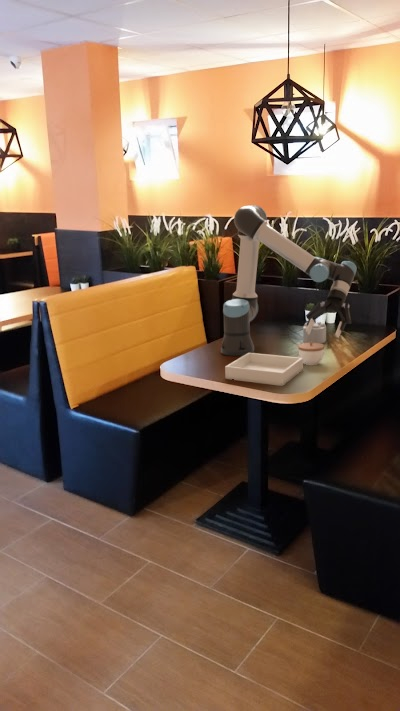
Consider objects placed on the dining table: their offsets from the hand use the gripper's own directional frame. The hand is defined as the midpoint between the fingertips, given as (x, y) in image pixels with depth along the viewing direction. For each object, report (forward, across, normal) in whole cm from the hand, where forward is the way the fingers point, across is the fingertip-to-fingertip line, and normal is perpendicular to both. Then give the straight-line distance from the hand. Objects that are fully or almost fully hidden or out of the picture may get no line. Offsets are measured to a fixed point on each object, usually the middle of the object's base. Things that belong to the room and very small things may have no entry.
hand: (321, 334), depth 250 cm
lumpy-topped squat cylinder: (-12, +18, -28) cm, 36 cm away
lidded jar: (+13, +1, -3) cm, 13 cm away
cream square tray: (+29, +10, +14) cm, 33 cm away
